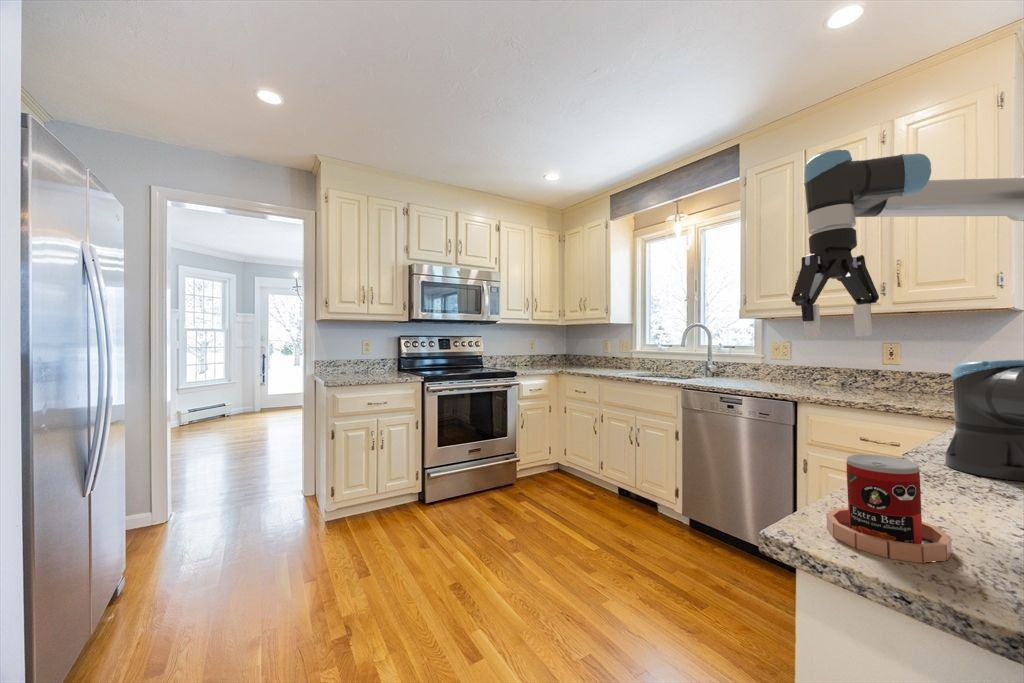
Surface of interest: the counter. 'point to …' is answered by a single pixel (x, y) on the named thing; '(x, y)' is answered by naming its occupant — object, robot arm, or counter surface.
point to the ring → (891, 549)
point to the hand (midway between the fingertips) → (838, 337)
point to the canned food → (884, 498)
